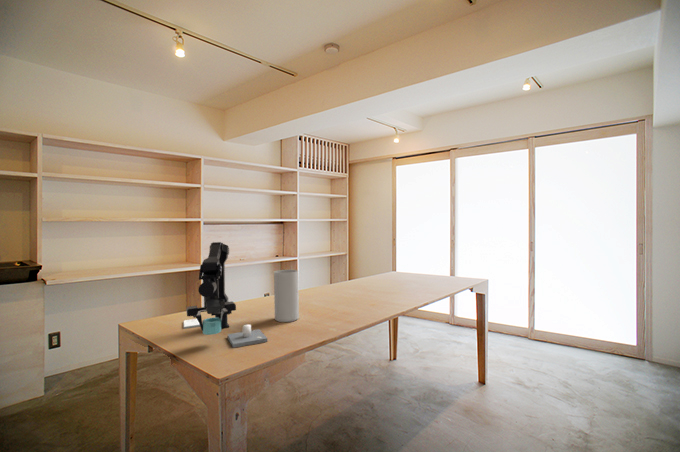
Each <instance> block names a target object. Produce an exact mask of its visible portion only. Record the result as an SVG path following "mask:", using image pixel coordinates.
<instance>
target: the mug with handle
mask: <svg viewBox="0 0 680 452" xmlns="http://www.w3.org/2000/svg"><path fill="white" fill-rule="evenodd" d="M202 324H203V331H202V335H205V336H206V335H207V336H209V335H210V336H211V335H217V334H219V333H221V332H222V328H221V318H218V317H215V316H214V317H208V318H204V319H203V320H202Z"/></svg>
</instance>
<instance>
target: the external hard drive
mask: <svg viewBox="0 0 680 452" xmlns="http://www.w3.org/2000/svg"><path fill="white" fill-rule="evenodd" d="M199 327H200V324H199V322H198V320H197V318H192V319H191V318H190V319H185V320H183V330H186V329H192V328H193V329H194V328H199ZM200 328H201V327H200Z"/></svg>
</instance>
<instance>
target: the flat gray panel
mask: <svg viewBox="0 0 680 452" xmlns="http://www.w3.org/2000/svg"><path fill="white" fill-rule="evenodd" d="M227 339H228V341H229V343H230V345H231V347H232V348H233V349H235V347H236V348H240V347H245V346H251V345H257V344H263V343H268V337H267V336H266V334H264V333H263V332H262V331H261V329H260V328H258V329H252V324H244V325H242V331H239V332H235V333H234V332H233V333H227Z"/></svg>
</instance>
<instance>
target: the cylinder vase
mask: <svg viewBox="0 0 680 452" xmlns="http://www.w3.org/2000/svg"><path fill="white" fill-rule="evenodd" d="M273 282H274V283H273V289H274V290H273V293H274V294H273V296H274V298H273V299H274V303H273V304H274V319H275V321H277V322H279V323H280V322H281V323H291V322H295V321H297V320H298V319H300V304H299V301H300V300H299V299H300V298H299V295H300V293H299V290H300V289H299V270H298V269H279V270H275V271H273Z"/></svg>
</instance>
